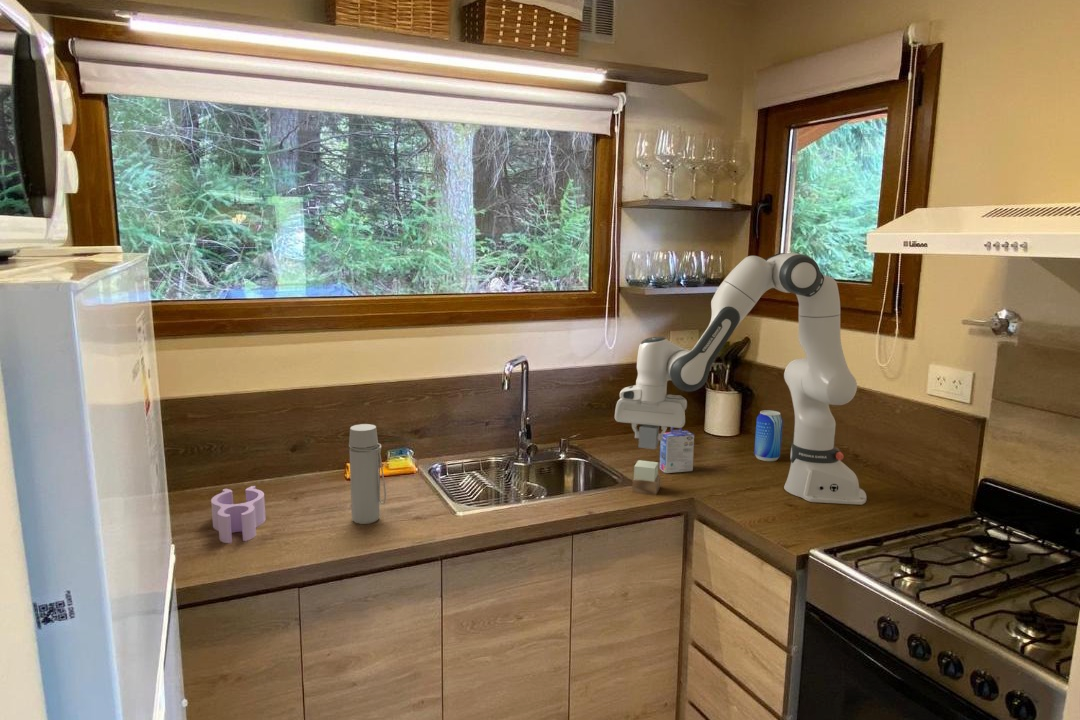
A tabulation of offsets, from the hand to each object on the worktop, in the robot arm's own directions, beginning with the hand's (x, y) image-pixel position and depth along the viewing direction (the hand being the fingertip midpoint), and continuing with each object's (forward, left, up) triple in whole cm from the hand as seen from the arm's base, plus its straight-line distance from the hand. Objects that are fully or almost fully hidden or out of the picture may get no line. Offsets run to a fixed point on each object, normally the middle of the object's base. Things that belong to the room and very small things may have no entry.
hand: (648, 439), depth 205 cm
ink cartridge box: (-6, -21, -16) cm, 27 cm away
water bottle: (+65, +47, -16) cm, 82 cm away
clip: (+94, +61, -16) cm, 113 cm away
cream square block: (0, 0, -12) cm, 12 cm away
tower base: (0, 0, -16) cm, 16 cm away
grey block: (0, 0, -2) cm, 2 cm away
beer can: (-34, -44, -16) cm, 58 cm away
